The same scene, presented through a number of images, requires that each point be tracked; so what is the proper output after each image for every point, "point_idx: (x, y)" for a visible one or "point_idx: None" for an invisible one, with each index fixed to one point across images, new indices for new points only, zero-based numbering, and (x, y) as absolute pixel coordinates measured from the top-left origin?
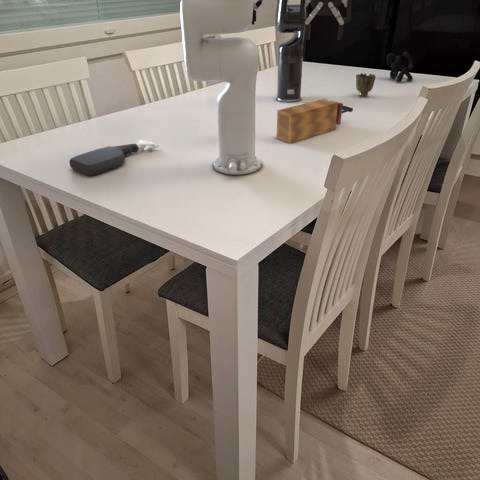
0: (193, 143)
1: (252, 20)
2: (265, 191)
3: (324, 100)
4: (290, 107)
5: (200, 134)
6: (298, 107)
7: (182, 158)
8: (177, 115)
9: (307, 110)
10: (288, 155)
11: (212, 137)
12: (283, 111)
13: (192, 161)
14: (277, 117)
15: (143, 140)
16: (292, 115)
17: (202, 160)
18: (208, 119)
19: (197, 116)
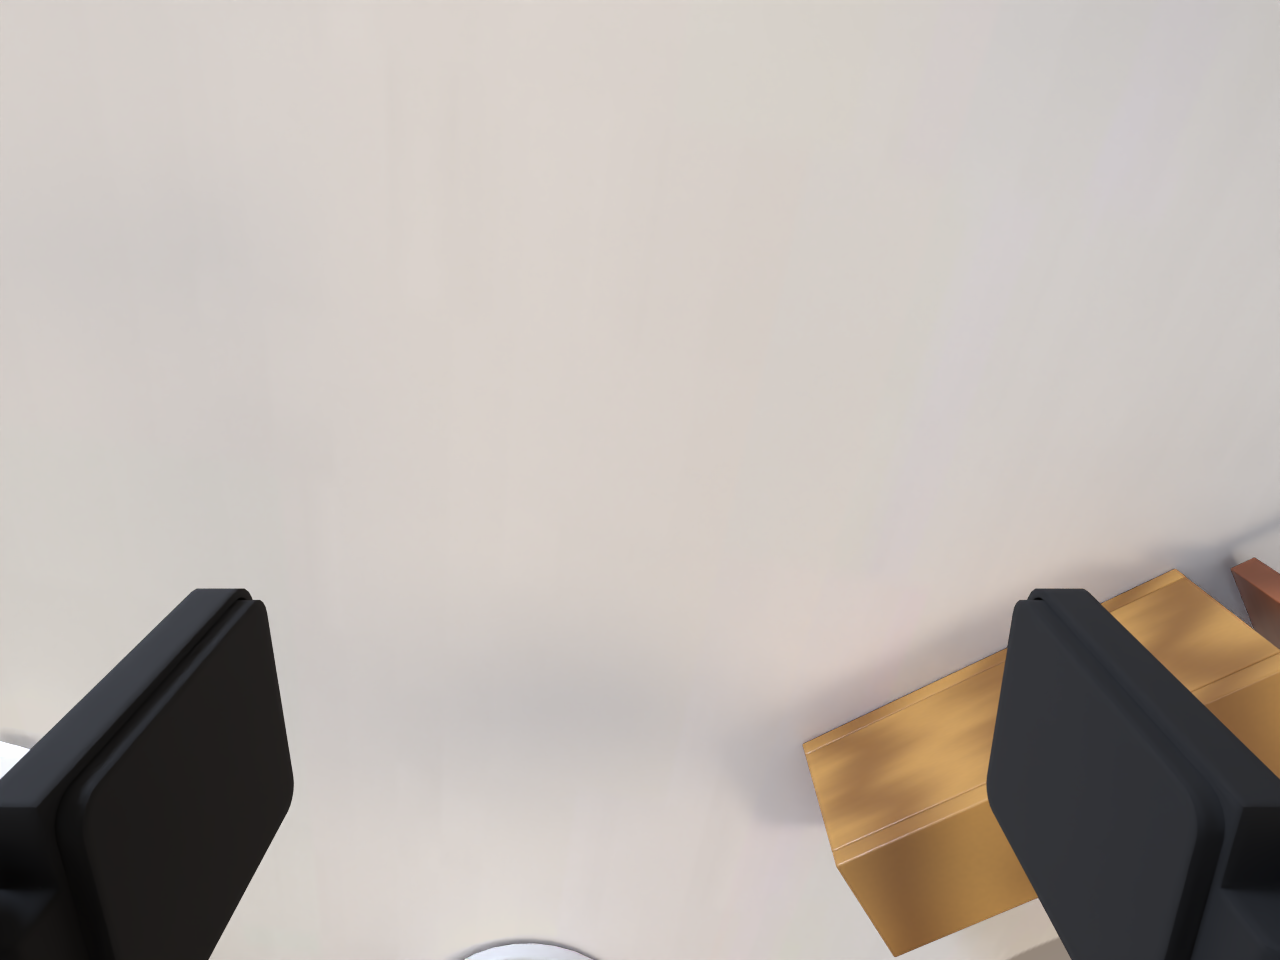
0: (311, 738)
1: (1026, 860)
2: None
3: (1275, 708)
4: (948, 823)
5: (344, 602)
6: (1002, 833)
7: (271, 911)
8: (114, 107)
9: (1032, 899)
10: (791, 954)
11: (422, 666)
12: (869, 892)
13: (324, 948)
14: (828, 835)
15: (5, 771)
16: (902, 948)
17: (372, 945)
18: (392, 283)
19: (296, 177)
